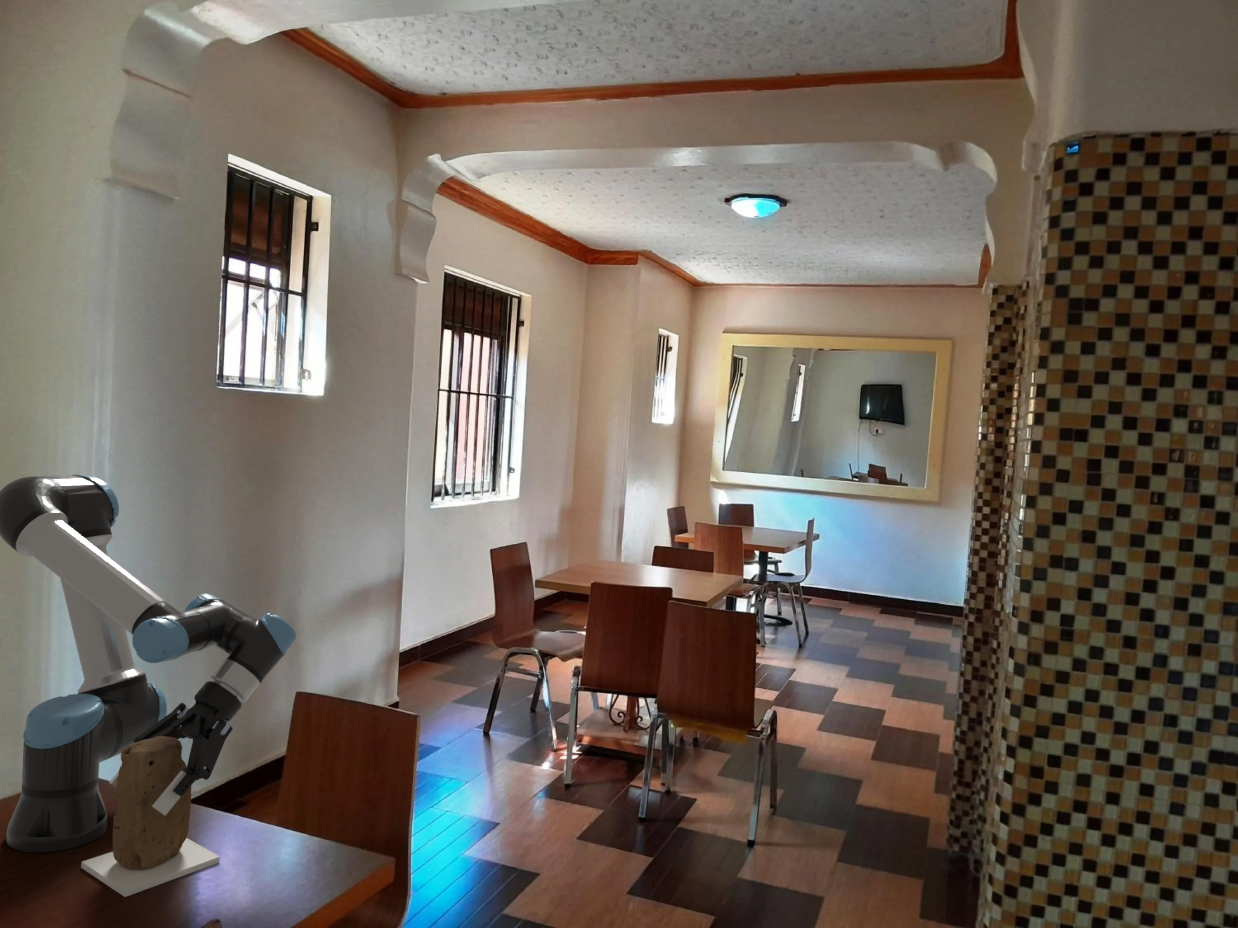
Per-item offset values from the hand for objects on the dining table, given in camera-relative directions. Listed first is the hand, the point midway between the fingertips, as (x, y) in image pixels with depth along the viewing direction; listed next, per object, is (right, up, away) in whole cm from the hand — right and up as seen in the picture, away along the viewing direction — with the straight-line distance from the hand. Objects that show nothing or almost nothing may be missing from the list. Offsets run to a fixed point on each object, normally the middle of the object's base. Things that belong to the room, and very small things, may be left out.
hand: (136, 798), depth 150 cm
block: (+1, -11, +3) cm, 12 cm away
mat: (+1, -12, +3) cm, 13 cm away
